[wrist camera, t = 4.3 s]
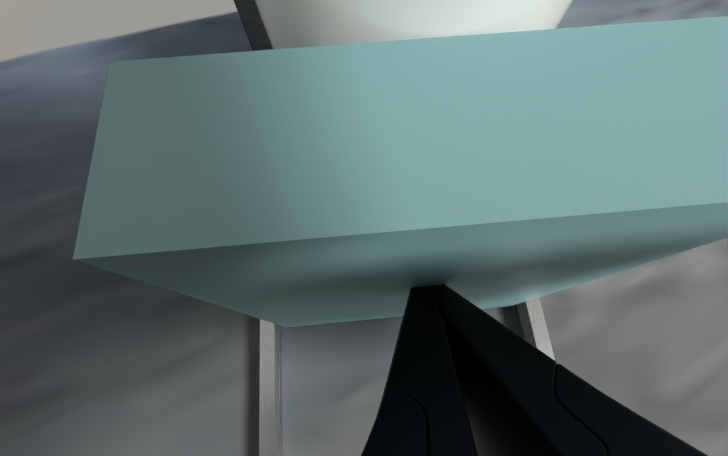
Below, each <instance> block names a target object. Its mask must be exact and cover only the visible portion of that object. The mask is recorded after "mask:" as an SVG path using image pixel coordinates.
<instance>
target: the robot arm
mask: <svg viewBox="0 0 728 456" xmlns="http://www.w3.org/2000/svg"><path fill="white" fill-rule="evenodd" d="M361 456H708V455H706V454H704V453H702V452H701V451H699V450H697V449H696V448H694V447H692V446H691V445H689V444H687V443H686V442H684V441H682V440H681V439H679V438H677V437H675V436H674V435H672V434H670V433H669V432H667V431H665V430H664V429H662V428H660V427H659V426H657V425H655V424H653V423H652V422H650V421H648V420H647V419H645V418H643V417H642V416H640V415H638V414H637V413H635V412H633V411H632V410H630V409H628V408H627V407H625V406H623V405H622V404H620V403H619V402H617V401H615V400H614V399H612V398H610V397H609V396H607V395H605V394H604V393H602V392H601V391H599V390H598V389H596V388H595V387H593V386H592V385H590V384H589V383H587V382H586V381H584V380H583V379H581V378H580V377H578V376H577V375H575V374H574V373H572V372H571V371H569V370H568V369H566V368H565V367H564V366H562V365H561V364H557V365H556V361H555V360H553V359H552V358H550V357H549V356H547V355H546V354H545V353H543V352H542V351H540V350H539V349H537V348H536V347H535V346H533V345H532V344H530V343H529V342H527V341H526V340H524V339H523V338H522V337H520V336H519V335H517V334H516V333H514V332H513V331H511V330H510V329H509V328H507V327H506V326H504V325H503V324H501V323H500V322H498V321H497V320H496V319H494V318H493V317H491V316H490V315H488V314H487V313H485V312H484V311H483V310H481V309H480V308H478V307H477V306H475V305H474V304H473V303H471V302H470V301H468V300H467V299H465V298H464V297H462V296H461V295H460V294H458V293H457V292H455V291H454V290H452V289H451V288H449V287H448V286H447V285H434V286H429V287H427V286H423V287H412V288H410V292H409V296H408V300H407V304H406V307H405V311H404V315H403V319H402V323H401V327H400V331H399V335H398V339H397V343H396V347H395V351H394V355H393V359H392V363H391V367H390V371H389V375H388V379H387V382H386V386H385V389H384V393H383V397H382V400H381V404H380V407H379V410H378V414H377V417H376V419H375V422H374V425H373V427H372V430H371V433H370V435H369V438H368V440H367V443H366V445H365V447H364V450H363V452H362V454H361Z"/></svg>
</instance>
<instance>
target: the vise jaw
mask: <svg viewBox="0 0 728 456" xmlns="http://www.w3.org/2000/svg"><path fill="white" fill-rule="evenodd" d="M727 237H728V16H724V17H710V18H697V19H683V20H669V21H656V22H642V23H628V24H615V25H601V26H587V27H574V28H560V29H547V30H533V31H519V32H506V33H492V34H478V35H465V36H451V37H437V38H424V39H410V40H396V41H383V42H369V43H355V44H342V45H328V46H314V47H301V48H287V49H273V50H260V51H246V52H232V53H219V54H205V55H191V56H178V57H164V58H150V59H137V60H123V61H110V63H109V68H108V74H107V79H106V84H105V90H104V95H103V100H102V106H101V111H100V116H99V122H98V127H97V132H96V138H95V143H94V148H93V154H92V159H91V164H90V170H89V175H88V180H87V186H86V191H85V196H84V202H83V207H82V212H81V218H80V223H79V228H78V234H77V239H76V244H75V250H74V255H73V260H76V261H79V262H82V263H85V264H88V265H91V266H95V267H98V268H101V269H104V270H107V271H110V272H114V273H117V274H120V275H123V276H126V277H129V278H132V279H136V280H139V281H142V282H145V283H148V284H151V285H154V286H158V287H161V288H164V289H167V290H170V291H173V292H177V293H180V294H183V295H186V296H189V297H192V298H195V299H199V300H202V301H205V302H208V303H211V304H214V305H217V306H221V307H224V308H227V309H230V310H233V311H236V312H240V313H243V314H246V315H249V316H252V317H255V318H258V319H262V320H265V321H268V322H271V323H274V324H277V325H281V326H284V327H295V326H305V325H316V324H327V323H337V322H348V321H359V320H369V319H380V318H391V317H401V316H403V315H404V311H405V307H406V304H407V300H408V296H409V292H410V288H412V287H423V286H427V287H429V286H434V285H447V286H448V287H449V288H451V289H452V290H454V291H455V292H457V293H458V294H460V295H461V296H462V297H464V298H465V299H467V300H468V301H470V302H471V303H473V304H474V305H475V306H477V307H478V308H480V309H486V308H497V307H508V306H513V305H516V304H519V303H522V302H526V301H529V300H532V299H535V298H538V297H541V296H544V295H548V294H551V293H554V292H557V291H560V290H563V289H566V288H570V287H573V286H576V285H579V284H582V283H585V282H588V281H592V280H595V279H598V278H601V277H604V276H607V275H610V274H614V273H617V272H620V271H623V270H626V269H629V268H632V267H636V266H639V265H642V264H645V263H648V262H651V261H654V260H658V259H661V258H664V257H667V256H670V255H673V254H676V253H680V252H683V251H686V250H689V249H692V248H695V247H698V246H702V245H705V244H708V243H711V242H714V241H717V240H720V239H724V238H727Z"/></svg>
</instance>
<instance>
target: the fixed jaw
mask: <svg viewBox="0 0 728 456" xmlns="http://www.w3.org/2000/svg"><path fill="white" fill-rule="evenodd" d="M234 2H235V5H236V8H237V10H238V13H239V16H240V18H241V21H242V24H243V26H244V29H245V32H246V34H247V37H248V40H249V42H250V45H251V48H252V50H253V51H260V50H273V48H272V45H271V43H270V40H269V38H268V35H267V33H266V30H265V27H264V25H263V22H262V20H261V17H260V14H259V11H258V8H257V6H256V3H255V0H234ZM516 305H517V310H518V314H519V318H520V323H521V327H522V331H523V336H524V340H526V341H527V342H529V343H530V344H532V345H533V346H535V347H536V348H537V349H539V350H540V351H542V352H543V353H545V354H546V355H547V356H549V357H550V358H552V359H553V360H555V358H554V354H553V350H552V346H551V342H550V339H549V335H548V331H547V327H546V323H545V319H544V315H543V311H542V307H541V303H540V299H539V297H538V298H535V299H532V300H529V301H526V302H522V303H519V304H516ZM259 456H281V373H280V325H277V324H274V323H271V322H268V321H265V320H262V319H260V395H259Z"/></svg>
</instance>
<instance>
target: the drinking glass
mask: <svg viewBox="0 0 728 456" xmlns="http://www.w3.org/2000/svg"><path fill="white" fill-rule="evenodd" d="M572 2H573V0H255V3H256V6H257V8H258V11H259V14H260V17H261V20H262V22H263V25H264V27H265V30H266V33H267V35H268V38H269V40H270V43H271V45H272V48H273V49H287V48H301V47H314V46H328V45H342V44H355V43H369V42H383V41H396V40H410V39H424V38H437V37H451V36H465V35H478V34H492V33H506V32H519V31H533V30H547V29H556V28H557V27H558V25H559V23H560V22H561V20H562V18H563V17H564V15H565V13H566V12H567V10H568V9H569V7H570V5H571V3H572Z"/></svg>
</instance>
